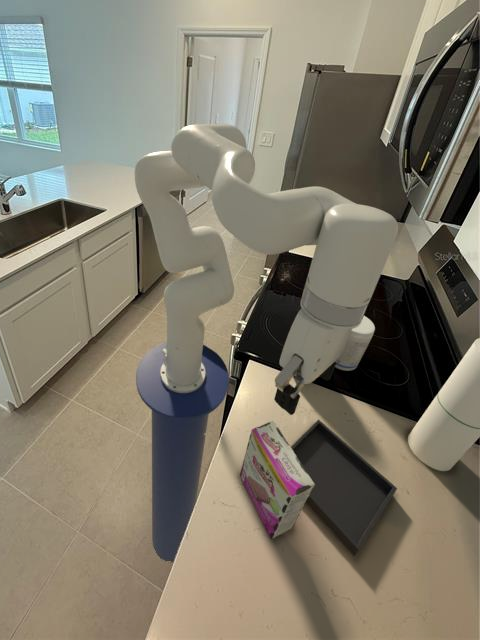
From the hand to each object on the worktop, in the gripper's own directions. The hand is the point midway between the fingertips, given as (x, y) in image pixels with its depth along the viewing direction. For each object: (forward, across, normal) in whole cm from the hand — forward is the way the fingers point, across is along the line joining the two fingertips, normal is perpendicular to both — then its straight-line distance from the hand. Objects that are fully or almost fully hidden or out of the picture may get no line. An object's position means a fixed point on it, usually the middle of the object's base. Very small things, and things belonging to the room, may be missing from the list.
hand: (302, 389), depth 48 cm
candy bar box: (+28, +4, +1) cm, 29 cm away
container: (+28, -34, +18) cm, 48 cm away
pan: (+28, -10, +7) cm, 31 cm away
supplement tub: (+28, -43, -8) cm, 52 cm away
